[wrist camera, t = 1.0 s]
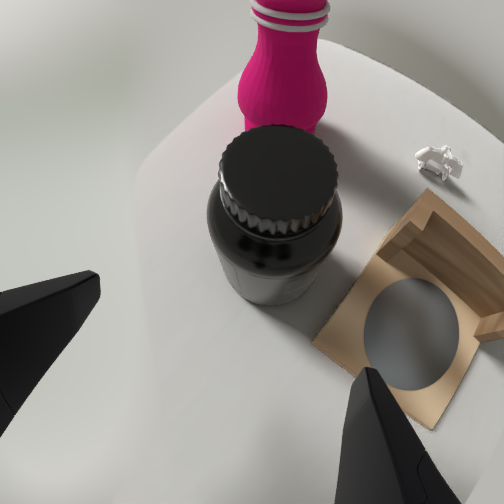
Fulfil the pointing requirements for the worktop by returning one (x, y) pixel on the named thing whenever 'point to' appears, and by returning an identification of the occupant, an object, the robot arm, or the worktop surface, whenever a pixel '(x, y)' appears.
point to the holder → (420, 308)
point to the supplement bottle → (274, 212)
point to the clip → (439, 161)
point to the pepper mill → (285, 65)
